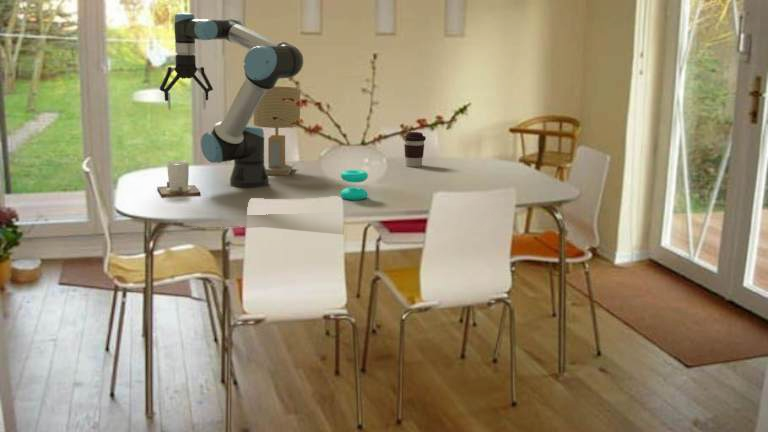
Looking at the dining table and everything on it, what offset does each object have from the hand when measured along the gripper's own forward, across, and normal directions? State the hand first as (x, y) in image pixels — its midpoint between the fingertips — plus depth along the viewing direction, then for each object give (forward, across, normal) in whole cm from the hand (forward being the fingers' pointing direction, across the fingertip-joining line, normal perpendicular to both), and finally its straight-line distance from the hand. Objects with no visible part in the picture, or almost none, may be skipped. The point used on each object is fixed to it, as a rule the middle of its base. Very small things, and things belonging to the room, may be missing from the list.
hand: (186, 109), depth 354 cm
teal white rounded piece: (+29, -54, +47) cm, 77 cm away
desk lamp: (+29, -39, -12) cm, 50 cm away
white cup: (+28, +7, +22) cm, 36 cm away
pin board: (+29, +7, +22) cm, 37 cm away
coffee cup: (+29, -102, -12) cm, 107 cm away
